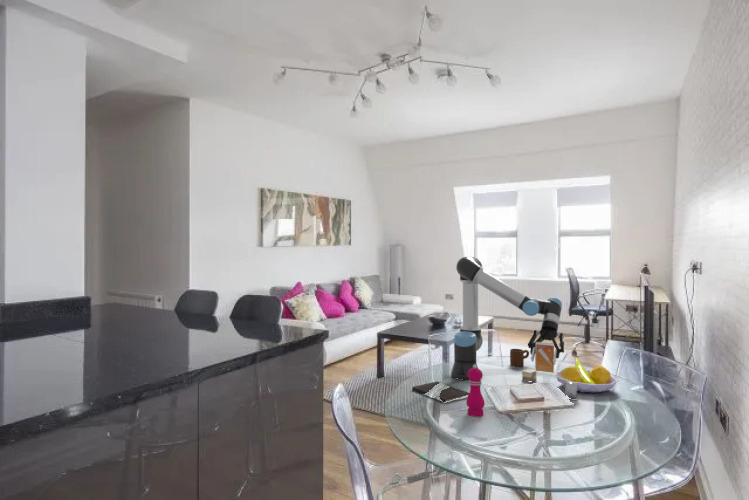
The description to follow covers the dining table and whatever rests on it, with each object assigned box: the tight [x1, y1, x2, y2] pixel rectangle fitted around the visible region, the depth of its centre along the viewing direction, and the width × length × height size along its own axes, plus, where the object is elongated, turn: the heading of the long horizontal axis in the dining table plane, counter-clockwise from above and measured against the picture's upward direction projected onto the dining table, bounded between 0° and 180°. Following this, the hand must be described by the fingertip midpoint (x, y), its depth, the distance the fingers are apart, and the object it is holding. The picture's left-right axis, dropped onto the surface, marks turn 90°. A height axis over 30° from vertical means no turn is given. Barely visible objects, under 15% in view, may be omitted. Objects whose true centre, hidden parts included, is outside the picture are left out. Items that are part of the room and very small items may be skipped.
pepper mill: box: [465, 364, 485, 417], centre depth 170 cm, size 7×7×20 cm
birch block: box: [521, 368, 538, 382], centre depth 217 cm, size 5×5×5 cm
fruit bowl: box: [554, 358, 618, 393], centre depth 204 cm, size 28×27×11 cm
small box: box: [534, 341, 555, 374], centre depth 202 cm, size 8×6×13 cm
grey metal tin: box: [564, 381, 578, 400], centre depth 188 cm, size 5×5×7 cm
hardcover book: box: [411, 381, 470, 402], centre depth 196 cm, size 16×23×2 cm
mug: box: [509, 348, 530, 368], centre depth 248 cm, size 12×8×9 cm, turn 103°
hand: (542, 361), depth 199 cm, fingers closed on small box, 9 cm apart
